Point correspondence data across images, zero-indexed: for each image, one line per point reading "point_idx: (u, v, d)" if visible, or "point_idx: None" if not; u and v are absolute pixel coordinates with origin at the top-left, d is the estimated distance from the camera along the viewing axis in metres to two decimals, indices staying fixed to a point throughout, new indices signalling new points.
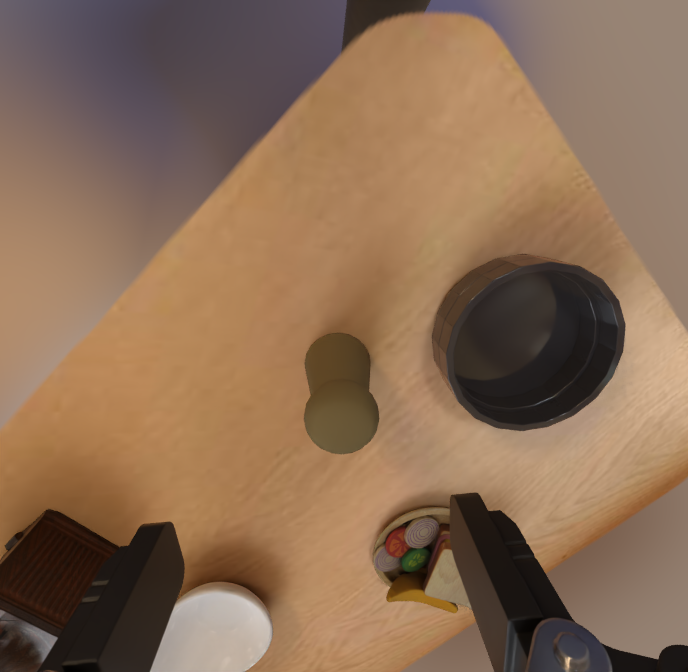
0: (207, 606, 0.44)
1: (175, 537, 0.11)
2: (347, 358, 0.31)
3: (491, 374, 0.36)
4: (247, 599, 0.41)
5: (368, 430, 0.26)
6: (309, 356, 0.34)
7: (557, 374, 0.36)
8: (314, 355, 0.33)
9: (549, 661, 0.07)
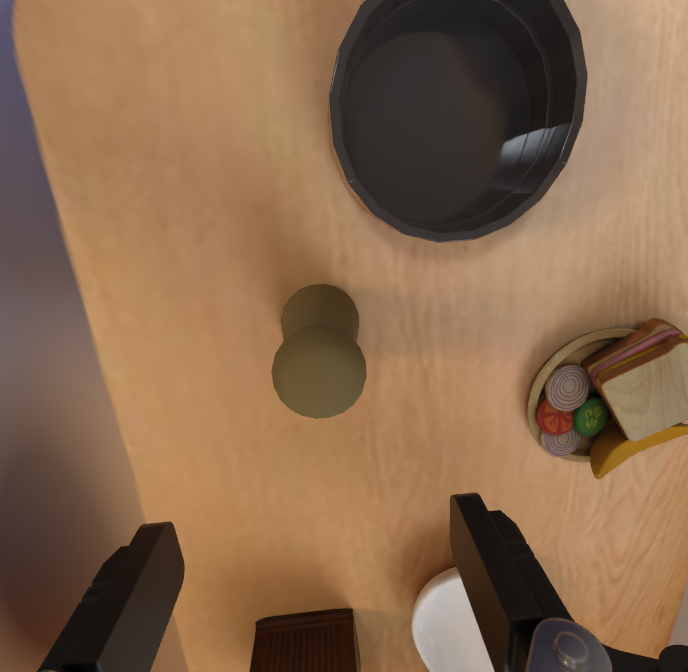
0: (447, 603, 0.40)
1: (175, 537, 0.11)
2: (299, 312, 0.26)
3: (463, 182, 0.27)
4: None
5: (344, 361, 0.20)
6: None
7: (532, 103, 0.25)
8: None
9: (549, 661, 0.07)
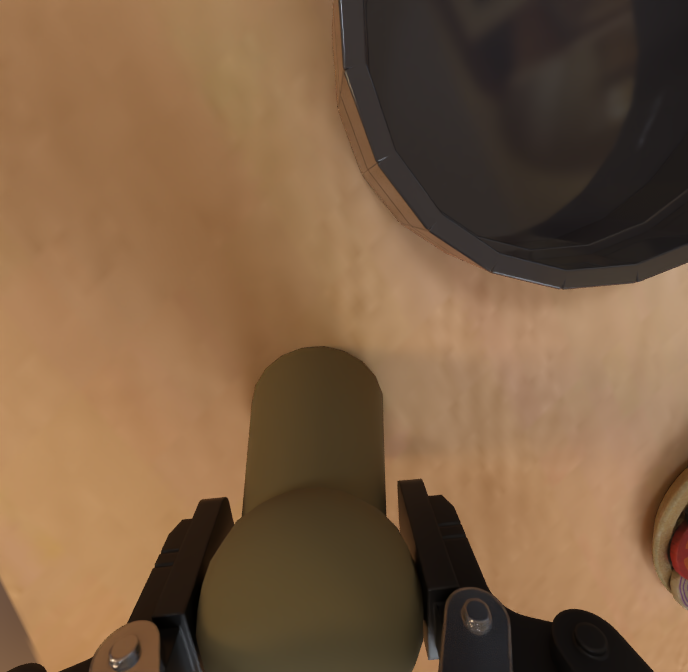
0: None
1: (230, 512, 0.12)
2: (275, 419, 0.13)
3: (582, 167, 0.15)
4: None
5: (376, 630, 0.07)
6: None
7: None
8: None
9: (460, 629, 0.07)
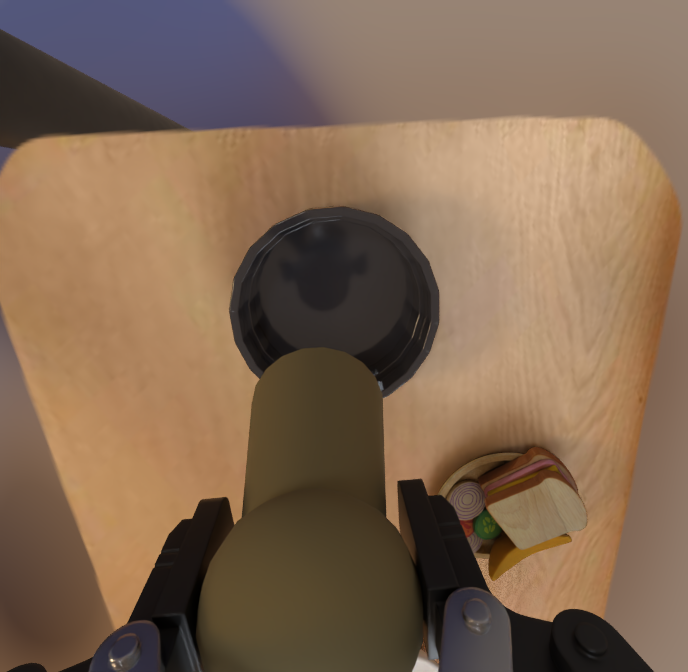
0: None
1: (230, 512, 0.12)
2: (275, 420, 0.13)
3: (361, 343, 0.32)
4: None
5: (376, 631, 0.08)
6: None
7: (413, 286, 0.30)
8: None
9: (460, 629, 0.07)
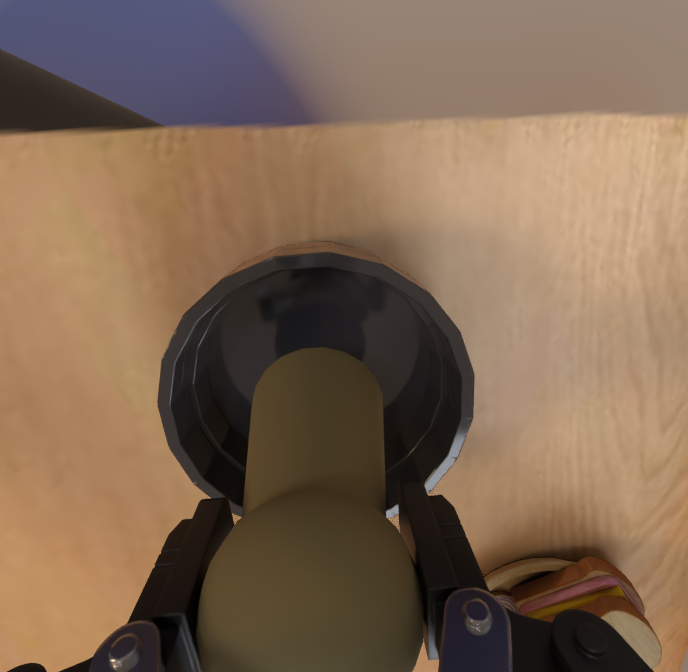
0: None
1: (230, 512, 0.12)
2: (275, 420, 0.13)
3: None
4: None
5: (376, 631, 0.07)
6: None
7: (430, 352, 0.22)
8: None
9: (460, 629, 0.07)
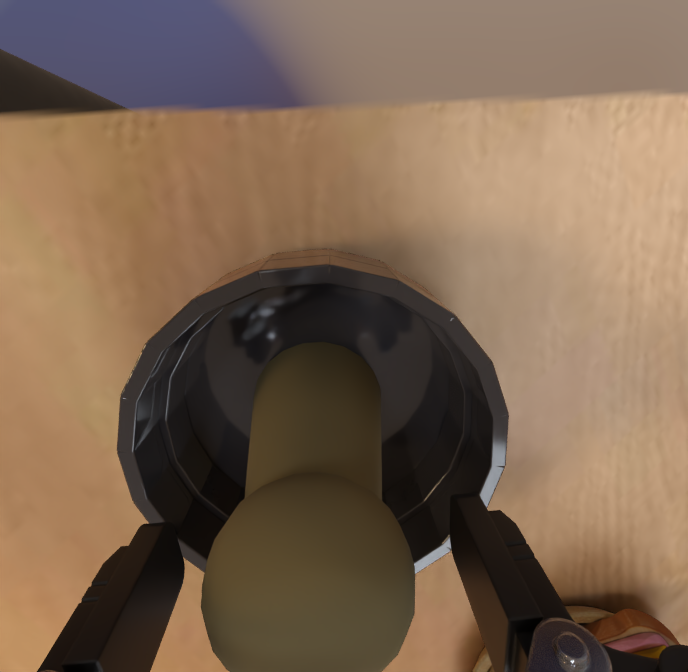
0: None
1: (175, 537, 0.11)
2: (276, 410, 0.14)
3: None
4: None
5: (369, 600, 0.08)
6: None
7: (449, 378, 0.18)
8: None
9: (549, 661, 0.07)
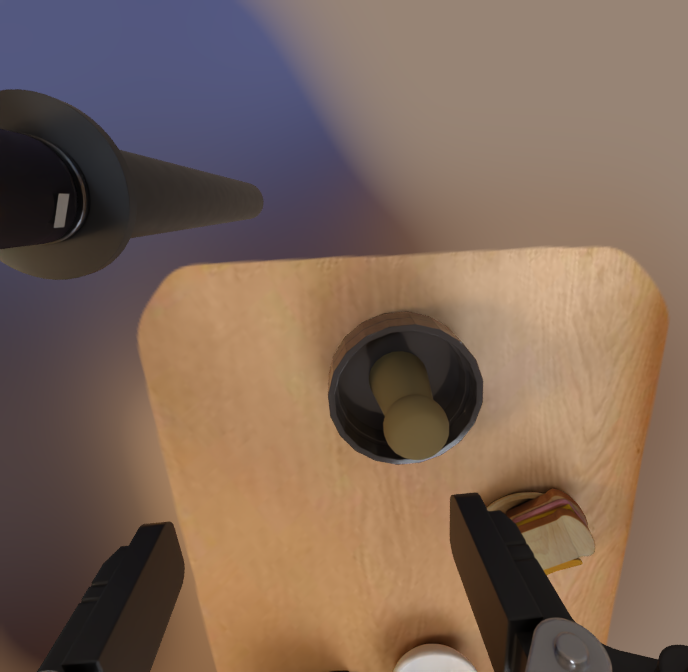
0: (418, 669, 0.54)
1: (175, 537, 0.11)
2: (391, 378, 0.35)
3: None
4: (428, 655, 0.49)
5: (437, 423, 0.30)
6: (373, 394, 0.39)
7: (459, 368, 0.40)
8: (373, 392, 0.38)
9: (549, 661, 0.07)
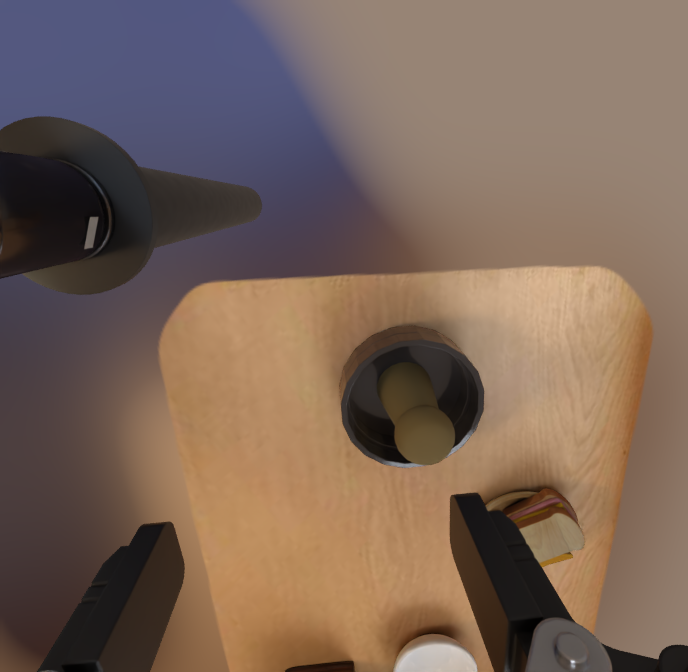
0: (419, 658, 0.57)
1: (175, 537, 0.11)
2: (400, 388, 0.38)
3: None
4: (429, 645, 0.53)
5: (445, 432, 0.32)
6: (381, 402, 0.42)
7: (461, 377, 0.43)
8: (382, 400, 0.41)
9: (549, 661, 0.07)
